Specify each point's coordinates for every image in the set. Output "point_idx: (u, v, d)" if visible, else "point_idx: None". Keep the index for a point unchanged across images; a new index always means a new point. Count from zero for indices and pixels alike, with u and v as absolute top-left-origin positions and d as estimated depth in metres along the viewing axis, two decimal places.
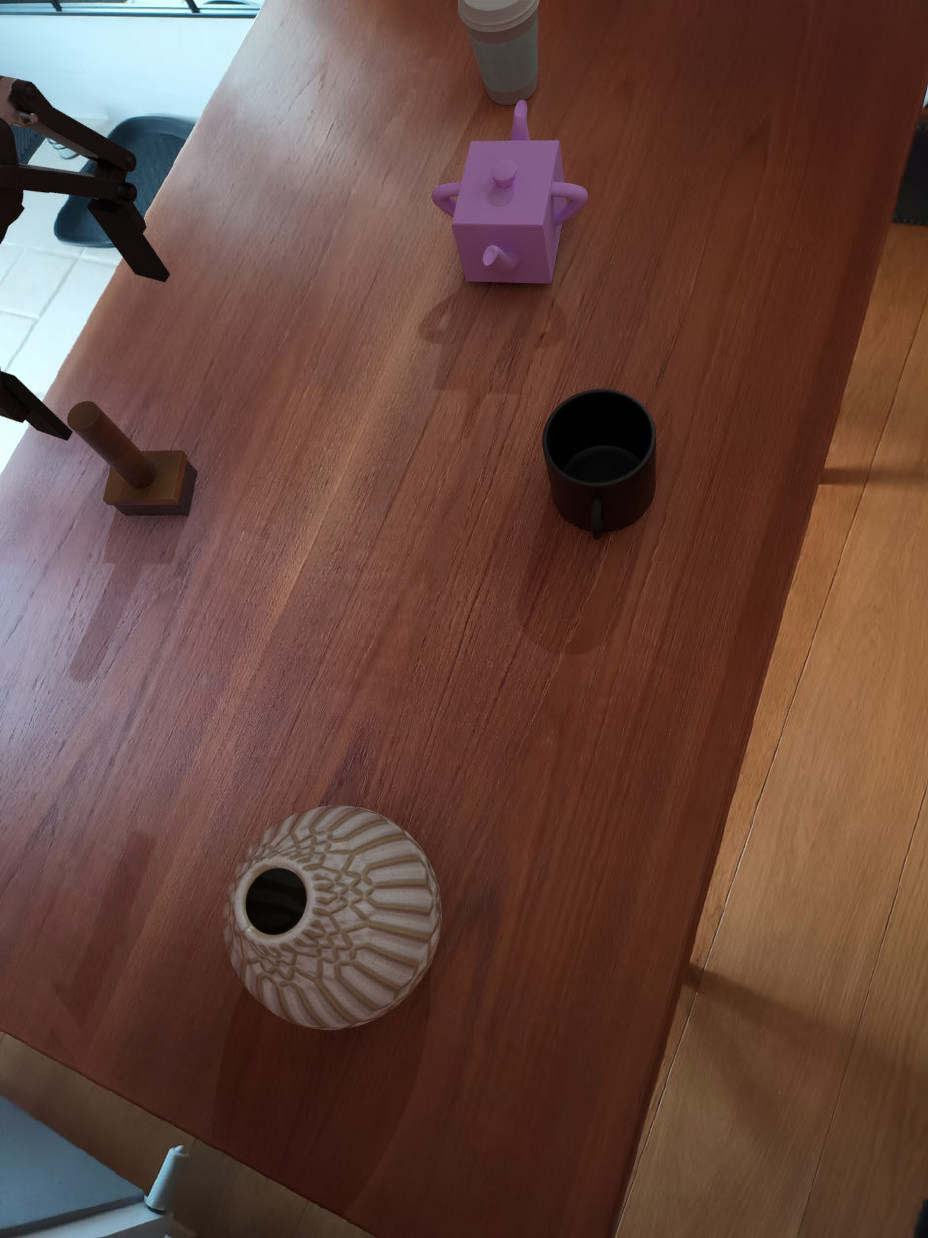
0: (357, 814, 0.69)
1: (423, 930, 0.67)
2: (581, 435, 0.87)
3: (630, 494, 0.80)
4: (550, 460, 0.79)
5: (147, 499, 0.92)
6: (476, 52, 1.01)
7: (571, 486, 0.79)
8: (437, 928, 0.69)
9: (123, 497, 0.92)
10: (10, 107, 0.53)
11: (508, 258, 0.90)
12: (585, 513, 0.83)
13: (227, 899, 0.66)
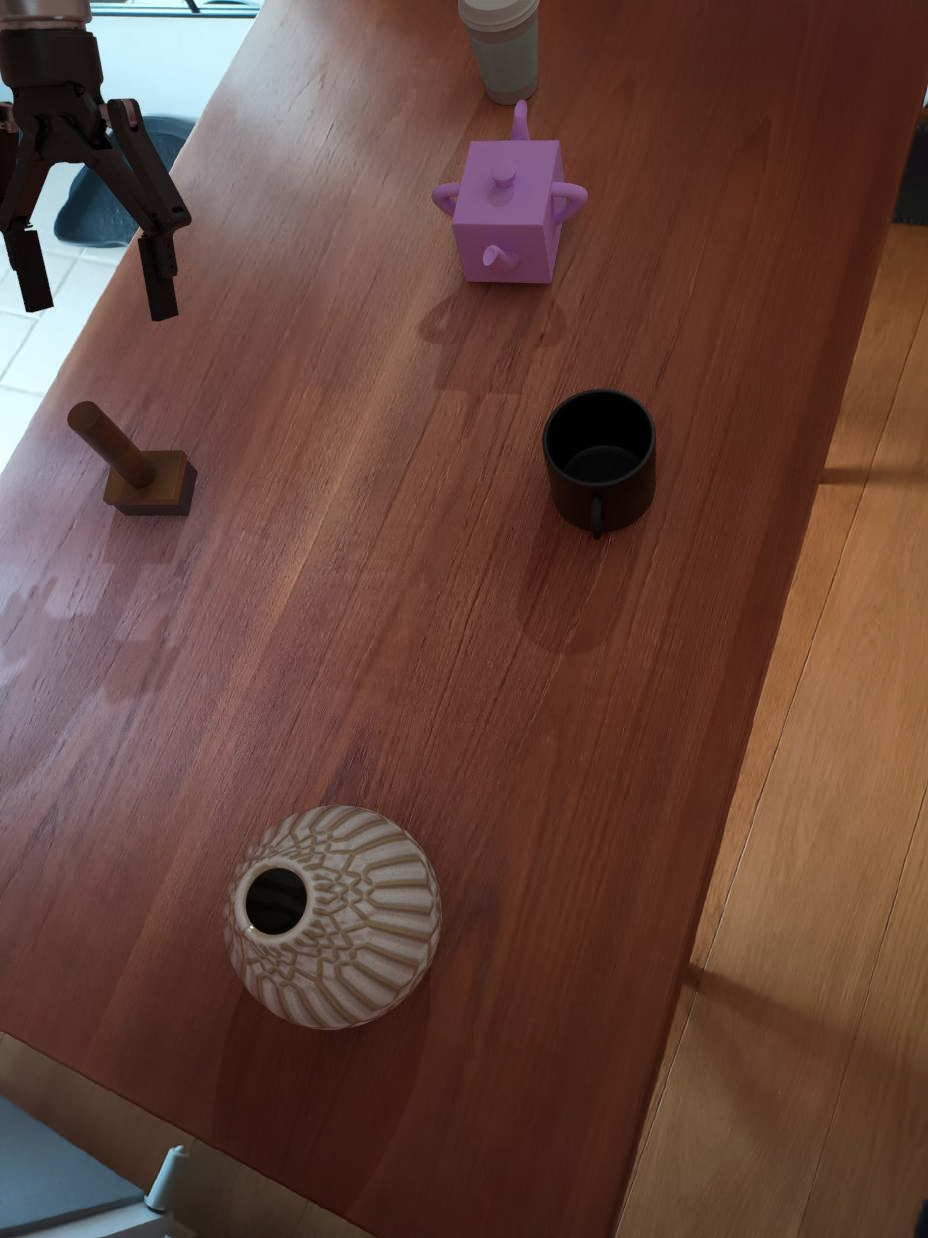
0: (357, 814, 0.69)
1: (423, 930, 0.67)
2: (581, 435, 0.87)
3: (630, 494, 0.80)
4: (550, 460, 0.79)
5: (147, 499, 0.92)
6: (476, 52, 1.01)
7: (571, 486, 0.79)
8: (437, 928, 0.69)
9: (123, 497, 0.92)
10: None
11: (508, 258, 0.90)
12: (585, 513, 0.83)
13: (227, 899, 0.66)
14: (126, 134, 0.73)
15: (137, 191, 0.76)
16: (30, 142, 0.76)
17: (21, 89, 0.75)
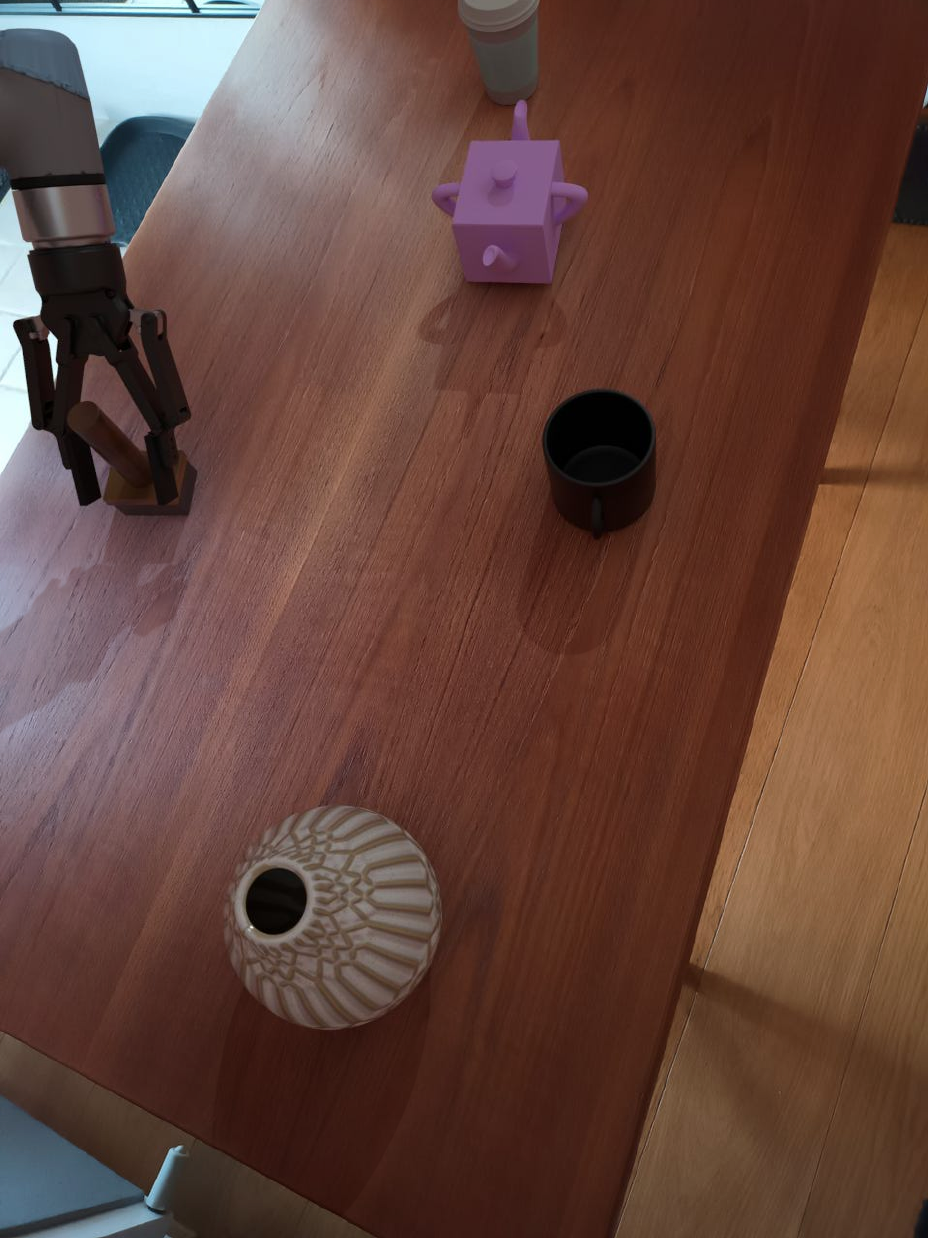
0: (357, 814, 0.69)
1: (423, 930, 0.67)
2: (581, 435, 0.87)
3: (630, 494, 0.80)
4: (550, 460, 0.79)
5: (147, 499, 0.92)
6: (476, 52, 1.01)
7: (571, 486, 0.79)
8: (437, 928, 0.69)
9: (123, 497, 0.92)
10: None
11: (508, 258, 0.90)
12: (585, 513, 0.83)
13: (227, 899, 0.66)
14: (153, 343, 0.82)
15: (149, 391, 0.85)
16: (66, 342, 0.83)
17: (51, 295, 0.82)
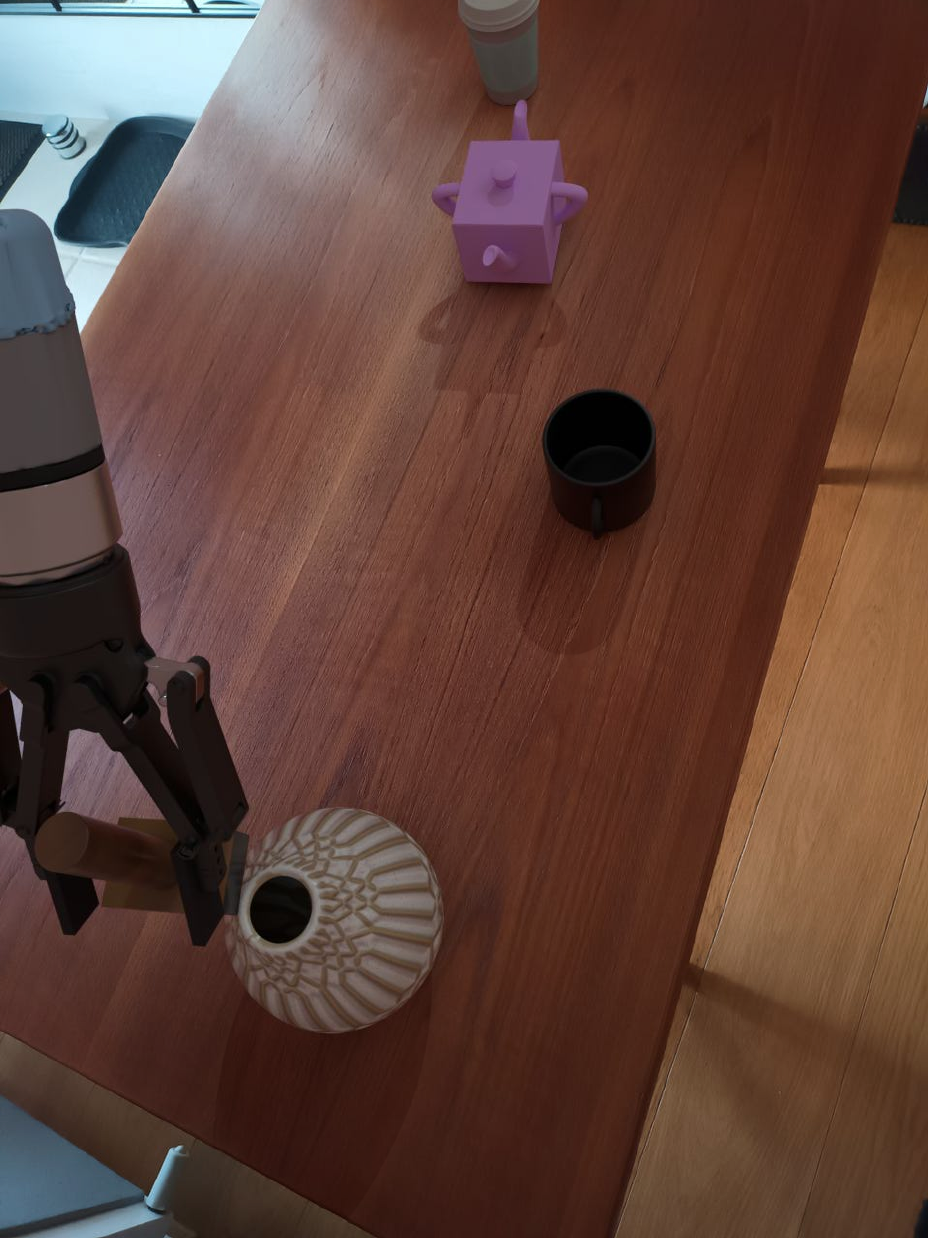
0: (358, 817, 0.69)
1: (426, 934, 0.67)
2: (581, 435, 0.87)
3: (630, 494, 0.80)
4: (550, 460, 0.79)
5: (172, 911, 0.57)
6: (476, 52, 1.01)
7: (571, 486, 0.79)
8: (439, 931, 0.69)
9: (133, 905, 0.57)
10: None
11: (508, 258, 0.90)
12: (585, 513, 0.83)
13: None
14: (189, 723, 0.47)
15: (180, 781, 0.50)
16: (37, 715, 0.48)
17: None
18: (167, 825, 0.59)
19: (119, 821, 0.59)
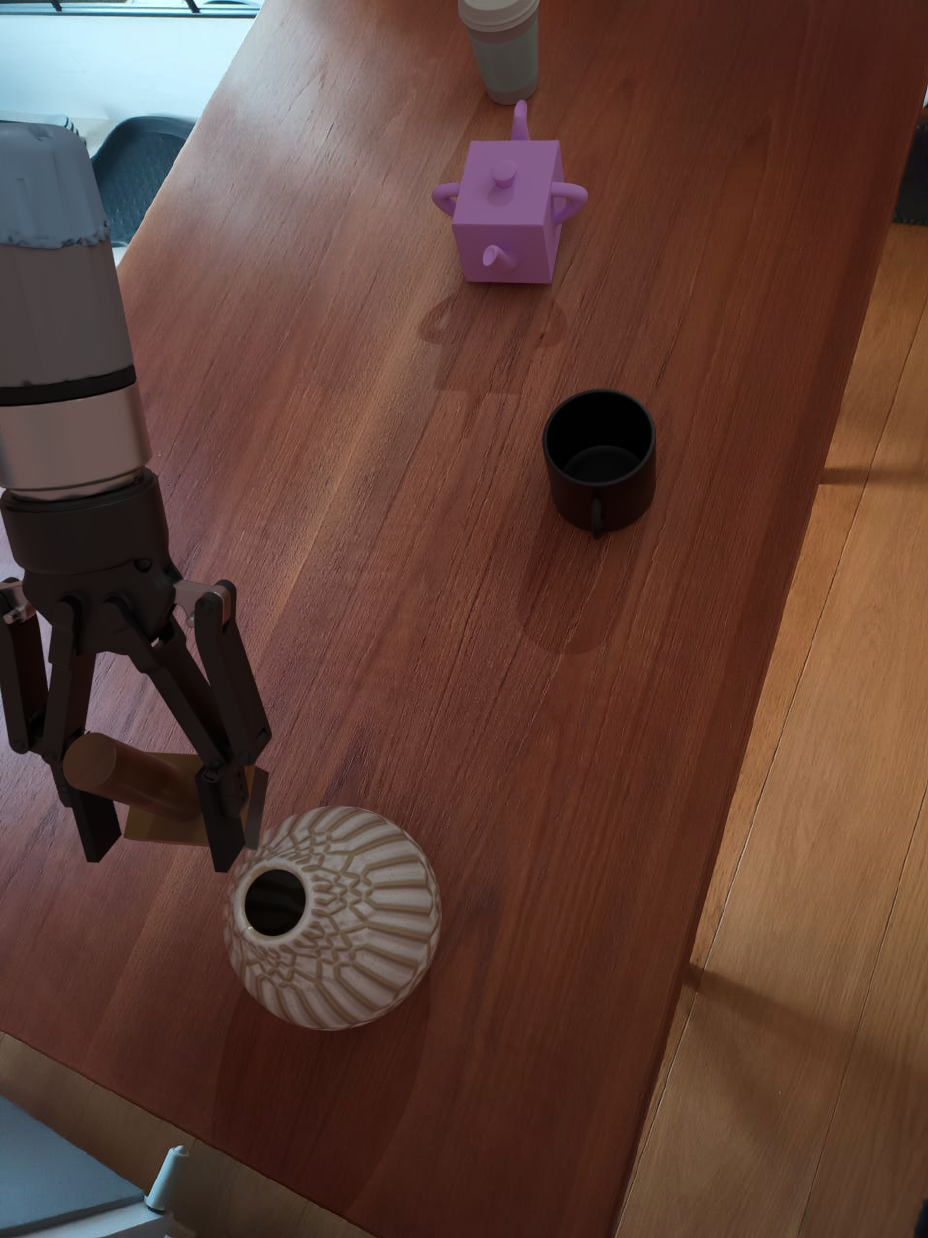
0: (356, 815, 0.69)
1: (423, 930, 0.67)
2: (581, 435, 0.87)
3: (630, 494, 0.80)
4: (550, 460, 0.79)
5: (194, 842, 0.57)
6: (476, 52, 1.01)
7: (571, 486, 0.79)
8: (437, 928, 0.69)
9: (156, 836, 0.58)
10: None
11: (508, 258, 0.90)
12: (585, 513, 0.83)
13: (227, 900, 0.66)
14: (216, 644, 0.48)
15: (205, 706, 0.51)
16: (66, 636, 0.49)
17: None
18: (189, 759, 0.59)
19: None
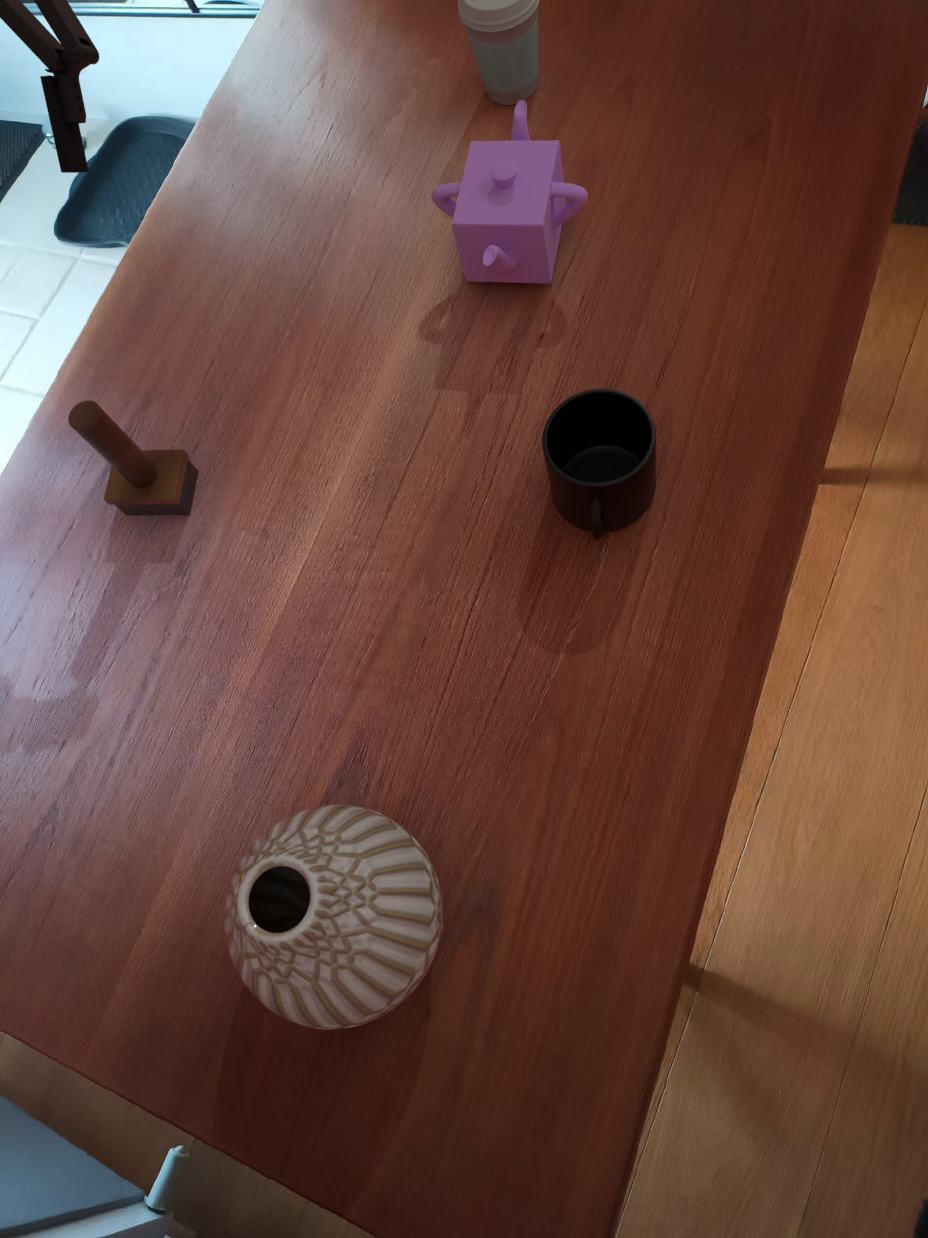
0: (366, 817, 0.69)
1: (422, 939, 0.67)
2: (581, 435, 0.87)
3: (630, 494, 0.80)
4: (550, 460, 0.79)
5: (148, 498, 0.92)
6: (476, 52, 1.01)
7: (571, 486, 0.79)
8: (436, 938, 0.69)
9: (124, 497, 0.92)
10: None
11: (508, 258, 0.90)
12: (585, 513, 0.83)
13: (230, 890, 0.66)
14: None
15: (36, 26, 0.71)
16: None
17: None
18: (145, 453, 0.94)
19: None
